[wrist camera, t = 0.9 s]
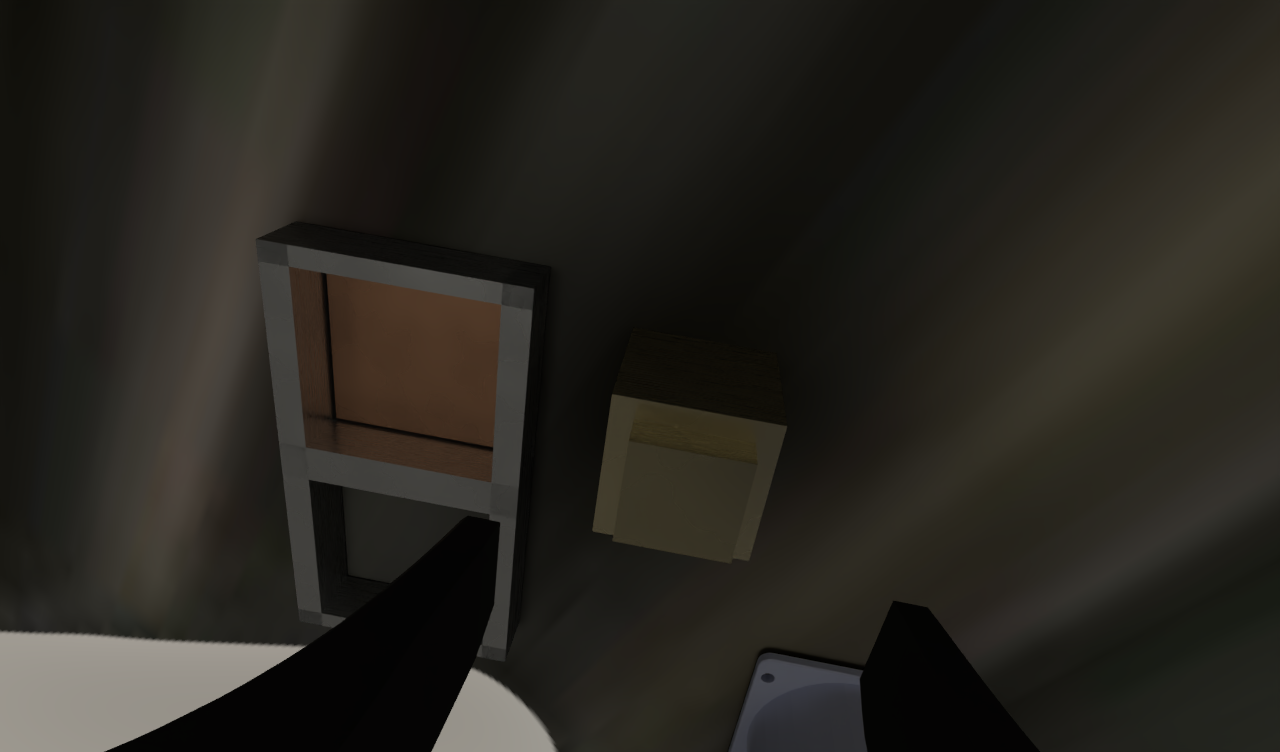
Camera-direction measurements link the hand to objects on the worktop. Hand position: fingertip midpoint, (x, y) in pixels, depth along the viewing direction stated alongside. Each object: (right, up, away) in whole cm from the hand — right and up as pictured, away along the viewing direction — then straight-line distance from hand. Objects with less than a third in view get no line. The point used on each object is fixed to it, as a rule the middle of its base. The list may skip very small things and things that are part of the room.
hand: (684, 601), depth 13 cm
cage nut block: (+1, +3, +10) cm, 11 cm away
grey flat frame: (-8, +2, +12) cm, 15 cm away
